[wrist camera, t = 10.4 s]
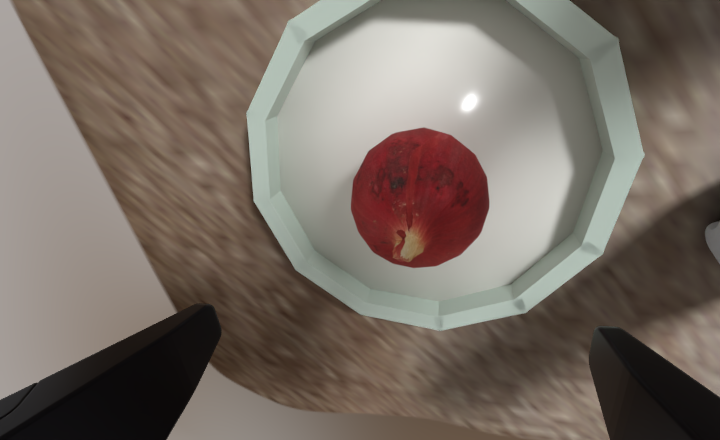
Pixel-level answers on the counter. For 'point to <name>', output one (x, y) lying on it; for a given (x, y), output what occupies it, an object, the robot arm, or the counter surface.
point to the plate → (465, 123)
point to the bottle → (713, 239)
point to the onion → (420, 198)
